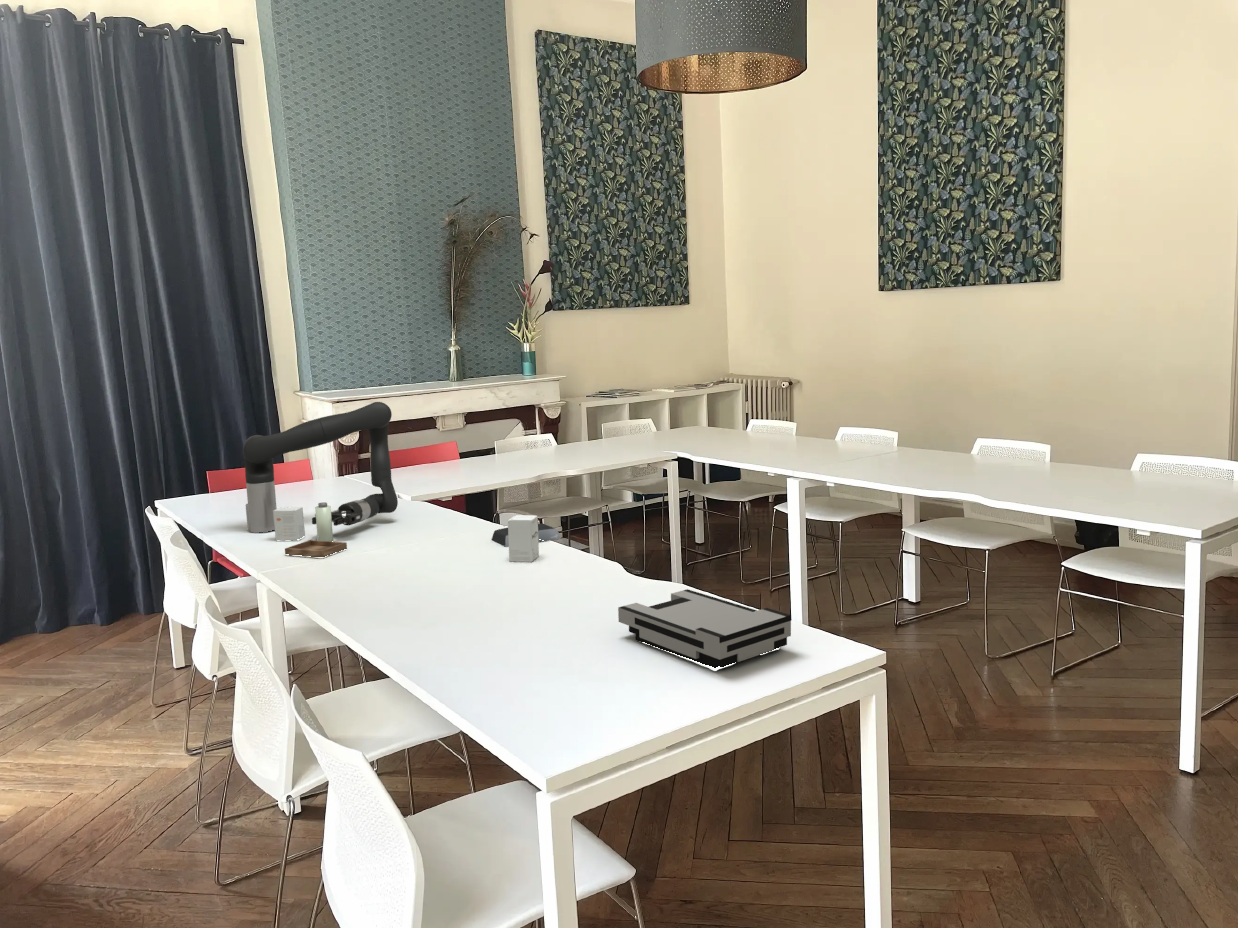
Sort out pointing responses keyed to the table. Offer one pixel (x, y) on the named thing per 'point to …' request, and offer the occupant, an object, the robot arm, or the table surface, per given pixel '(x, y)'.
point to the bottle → (324, 522)
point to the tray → (316, 548)
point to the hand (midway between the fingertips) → (323, 521)
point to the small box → (289, 523)
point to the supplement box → (523, 538)
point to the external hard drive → (543, 534)
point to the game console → (707, 628)
